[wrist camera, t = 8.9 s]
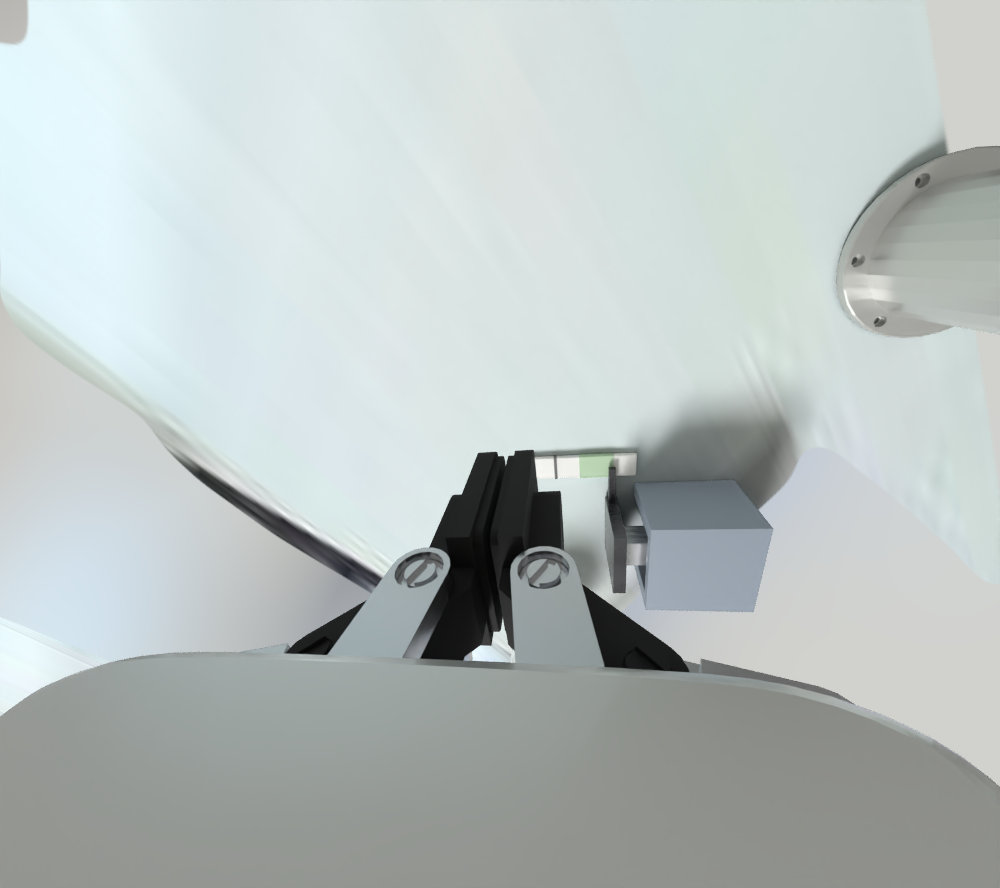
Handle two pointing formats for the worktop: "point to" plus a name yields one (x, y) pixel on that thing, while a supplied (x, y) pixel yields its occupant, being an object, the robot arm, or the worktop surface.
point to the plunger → (621, 539)
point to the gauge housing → (686, 536)
